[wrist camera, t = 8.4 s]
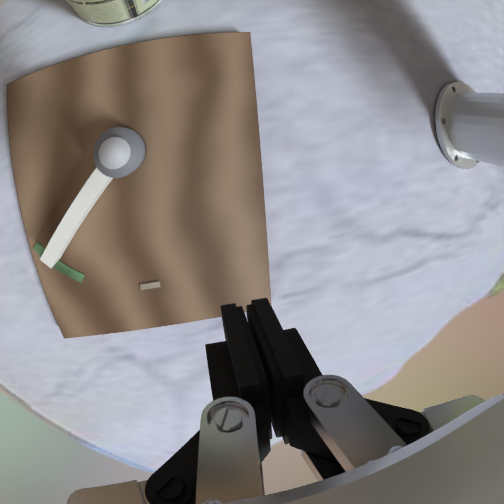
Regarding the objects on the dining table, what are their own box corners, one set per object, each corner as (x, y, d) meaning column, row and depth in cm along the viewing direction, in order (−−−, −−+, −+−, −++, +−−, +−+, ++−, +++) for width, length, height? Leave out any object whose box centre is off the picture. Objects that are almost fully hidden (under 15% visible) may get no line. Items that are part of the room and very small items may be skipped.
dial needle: (156, 147, 24) (151, 148, 20) (70, 264, 26) (56, 285, 22) (122, 119, 22) (111, 115, 18) (41, 240, 24) (22, 257, 20)
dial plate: (246, 37, 23) (250, 31, 22) (267, 300, 34) (271, 307, 32) (13, 85, 19) (6, 83, 17) (67, 330, 30) (63, 339, 28)
